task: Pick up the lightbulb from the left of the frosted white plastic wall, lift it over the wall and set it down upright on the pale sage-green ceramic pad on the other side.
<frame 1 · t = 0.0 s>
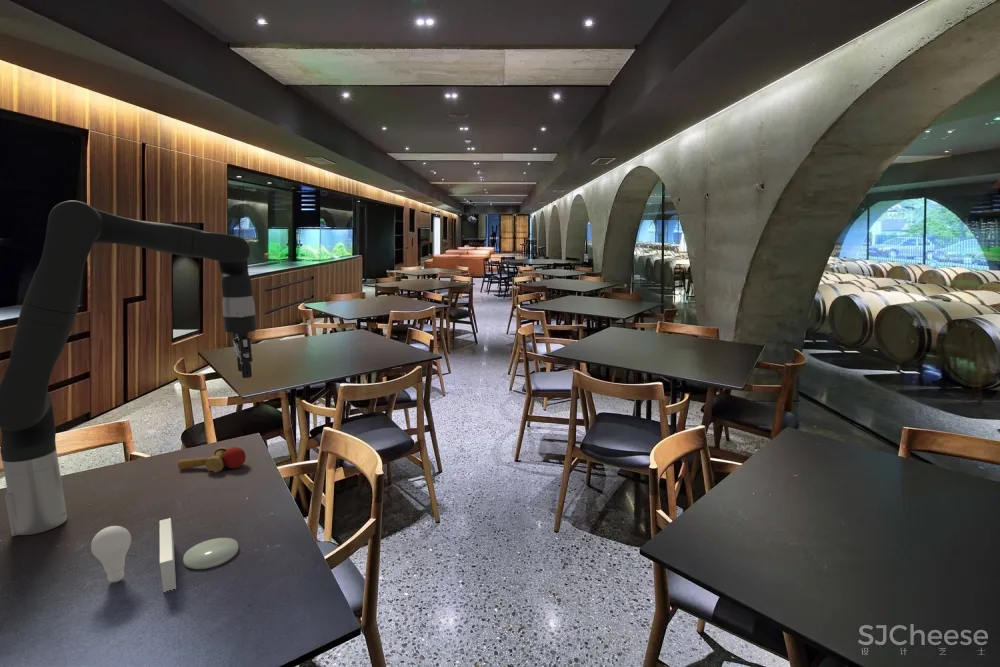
hand: (244, 374, 141), 29 cm above the table, tool pointing down, fingers open, 8 cm apart
lightbulb: (116, 582, 101), on the table
kendama: (213, 469, 153), on the table
pad: (211, 554, 110), on the table
wall: (169, 566, 106), on the table
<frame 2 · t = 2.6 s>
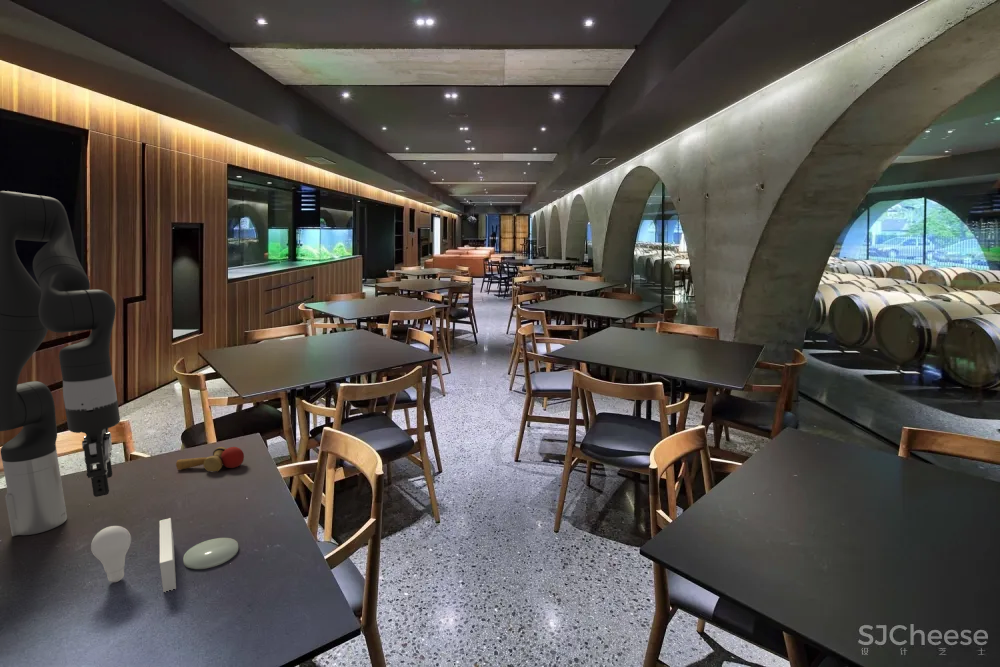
hand: (103, 486, 98), 19 cm above the table, tool pointing down, fingers open, 8 cm apart
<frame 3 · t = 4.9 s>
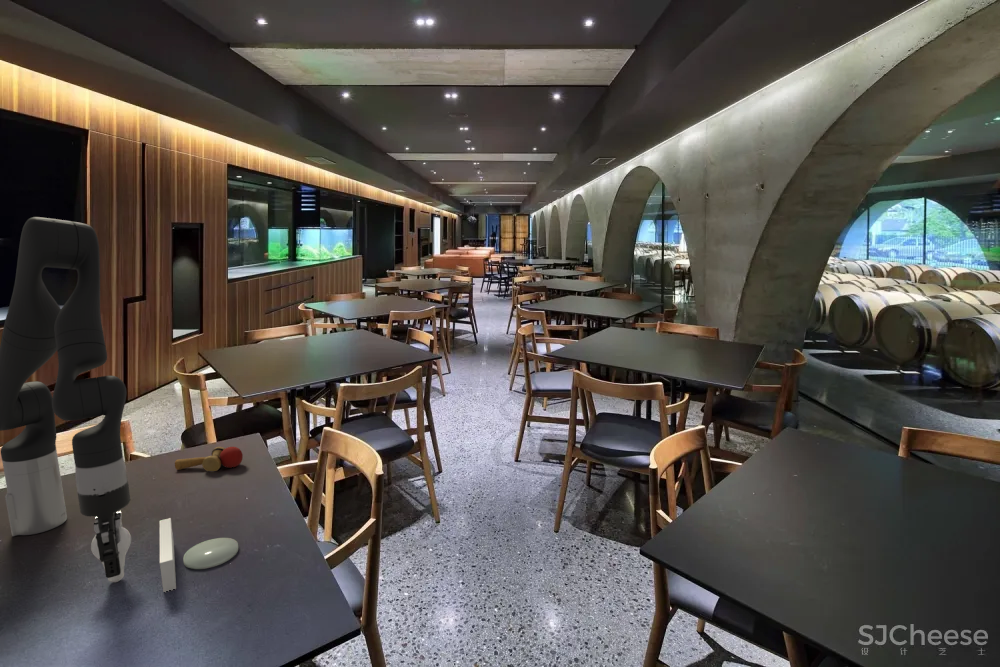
hand: (114, 567, 101), 3 cm above the table, tool pointing down, fingers closed on lightbulb, 5 cm apart
lightbulb: (116, 582, 101), on the table, touching gripper
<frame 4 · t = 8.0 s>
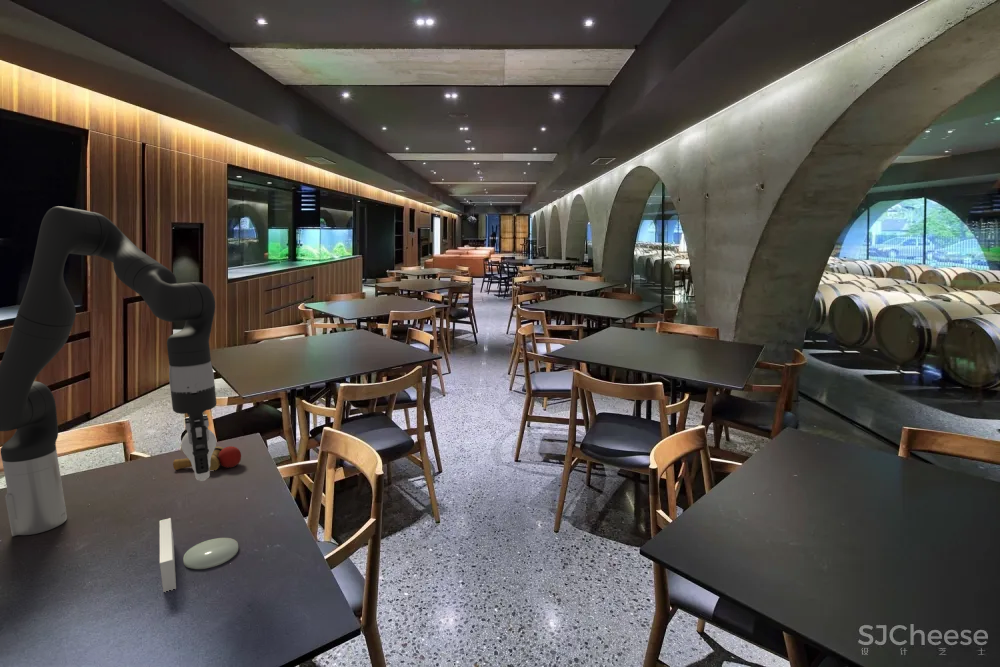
hand: (201, 466, 106), 19 cm above the table, tool pointing down, fingers closed on lightbulb, 5 cm apart
lightbulb: (203, 481, 107), point 16 cm above the table, touching gripper
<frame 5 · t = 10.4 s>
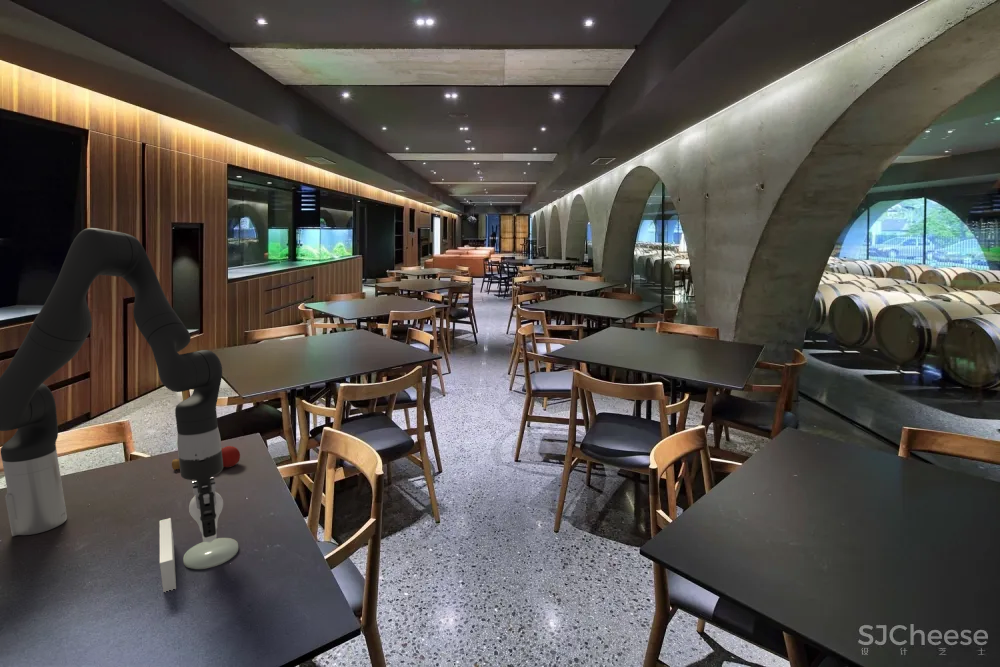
hand: (208, 528, 109), 6 cm above the table, tool pointing down, fingers closed on lightbulb, 5 cm apart
lightbulb: (210, 542, 109), point 3 cm above the table, touching gripper
when the fingers open (5 cm above the table, at t = 11.4 s): lightbulb drops 1 cm, resting on pad.
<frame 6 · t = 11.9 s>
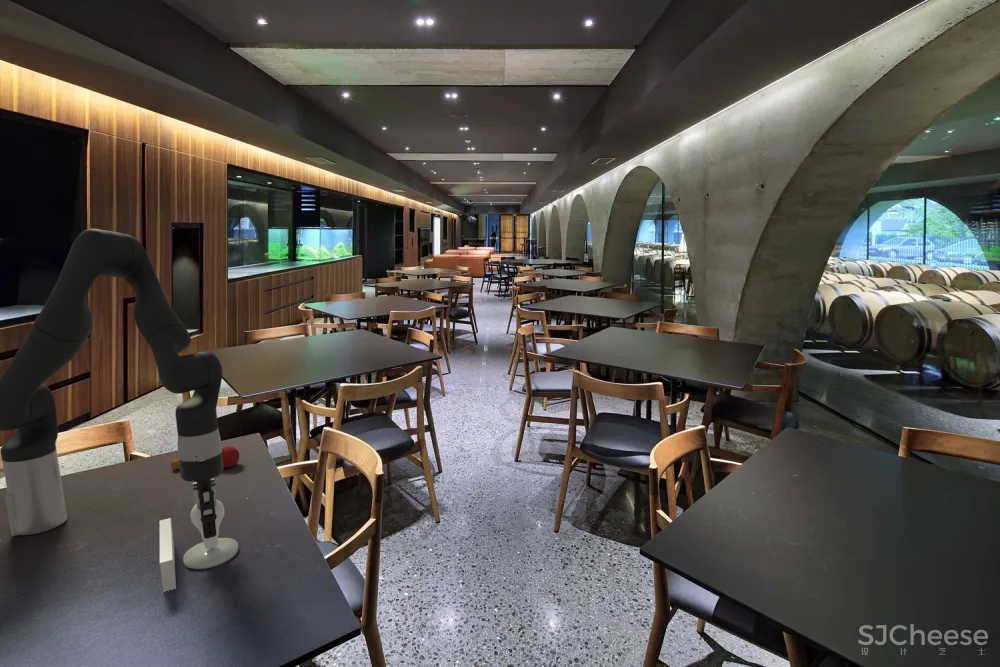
hand: (208, 527, 109), 6 cm above the table, tool pointing down, fingers open, 8 cm apart
lightbulb: (212, 549, 110), point 1 cm above the table, touching pad
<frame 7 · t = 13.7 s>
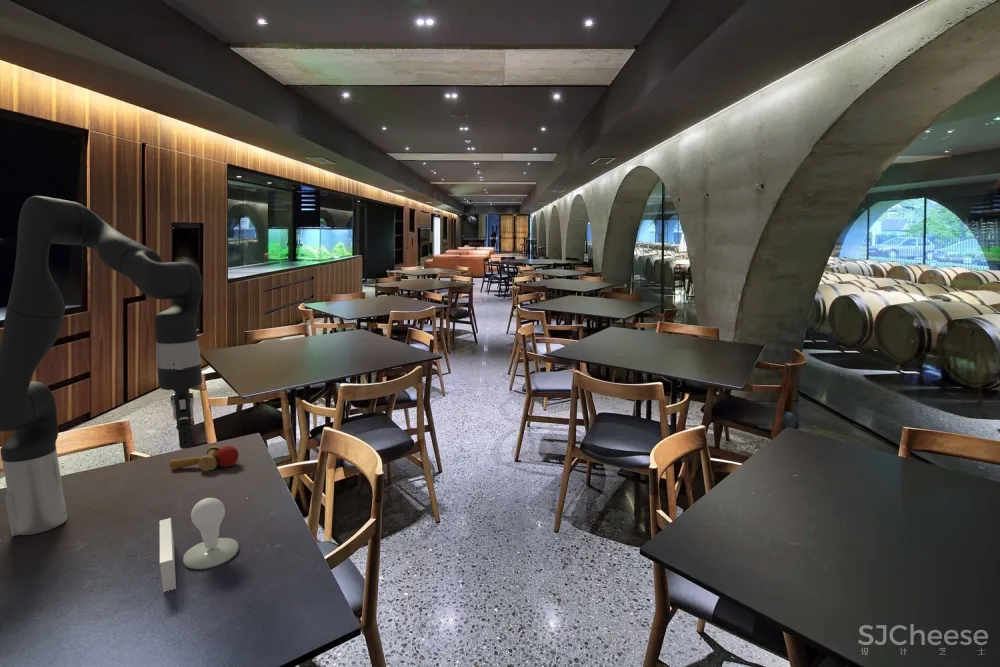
hand: (185, 440, 109), 24 cm above the table, tool pointing down, fingers open, 8 cm apart
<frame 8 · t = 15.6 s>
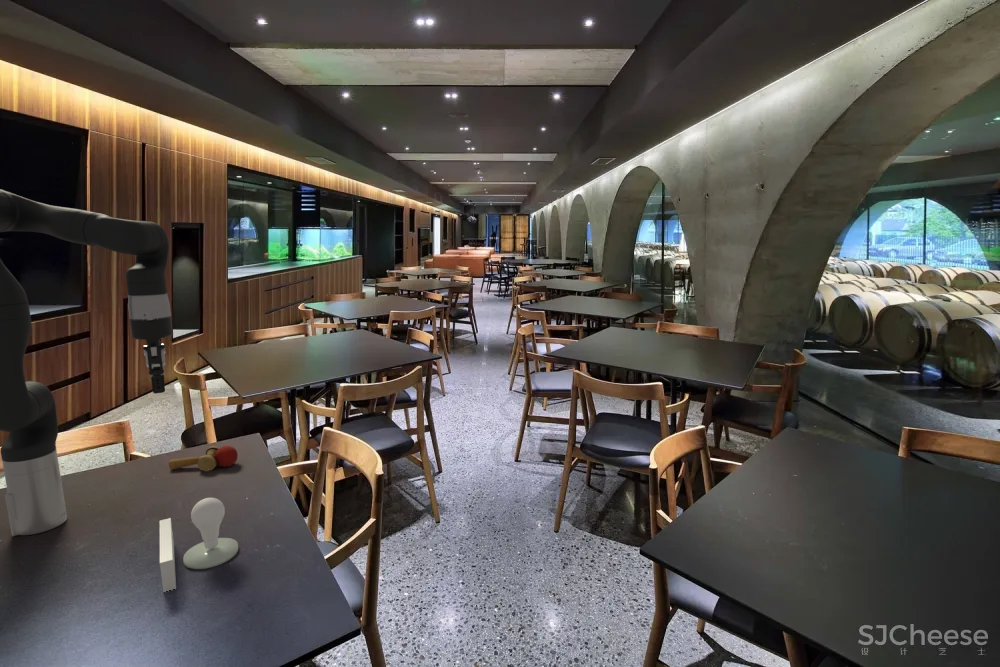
hand: (159, 388, 117), 32 cm above the table, tool pointing down, fingers open, 8 cm apart
at the end: lightbulb inside the target area on the pad (0.9 cm from its centre), point 0.6 cm above the pad's base; lightbulb tilted 0°; the gripper is holding nothing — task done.
